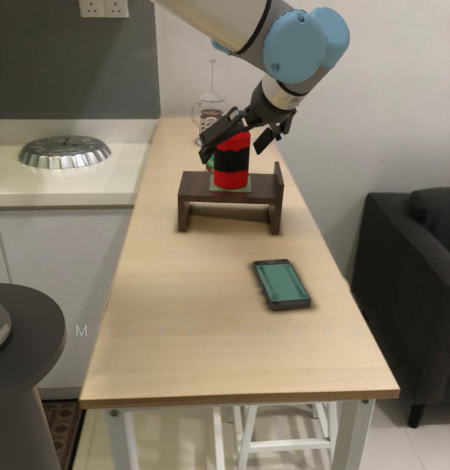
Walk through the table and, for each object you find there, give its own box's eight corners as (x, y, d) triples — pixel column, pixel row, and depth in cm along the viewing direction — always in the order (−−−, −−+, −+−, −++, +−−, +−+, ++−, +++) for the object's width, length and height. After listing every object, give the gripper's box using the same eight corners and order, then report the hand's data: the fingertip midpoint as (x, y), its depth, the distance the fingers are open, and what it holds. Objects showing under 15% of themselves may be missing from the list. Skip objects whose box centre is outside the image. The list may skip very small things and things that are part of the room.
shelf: (178, 231, 101) (176, 180, 95) (183, 204, 113) (182, 157, 106) (278, 234, 102) (284, 184, 95) (274, 207, 113) (278, 161, 106)
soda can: (251, 179, 104) (255, 124, 97) (242, 191, 98) (245, 134, 91) (219, 174, 106) (220, 120, 99) (208, 186, 100) (209, 129, 93)
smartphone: (287, 257, 91) (312, 301, 79) (287, 263, 92) (311, 307, 80) (251, 260, 90) (271, 305, 78) (251, 265, 91) (270, 311, 79)
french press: (223, 148, 149) (225, 61, 134) (188, 145, 150) (186, 59, 136) (228, 139, 157) (231, 56, 142) (195, 136, 158) (194, 54, 144)
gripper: (225, 120, 74) (183, 179, 93) (341, 105, 85) (282, 160, 104) (209, 77, 74) (170, 145, 93) (326, 68, 85) (271, 130, 104)
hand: (229, 153), depth 99 cm, fingers open, 13 cm apart
